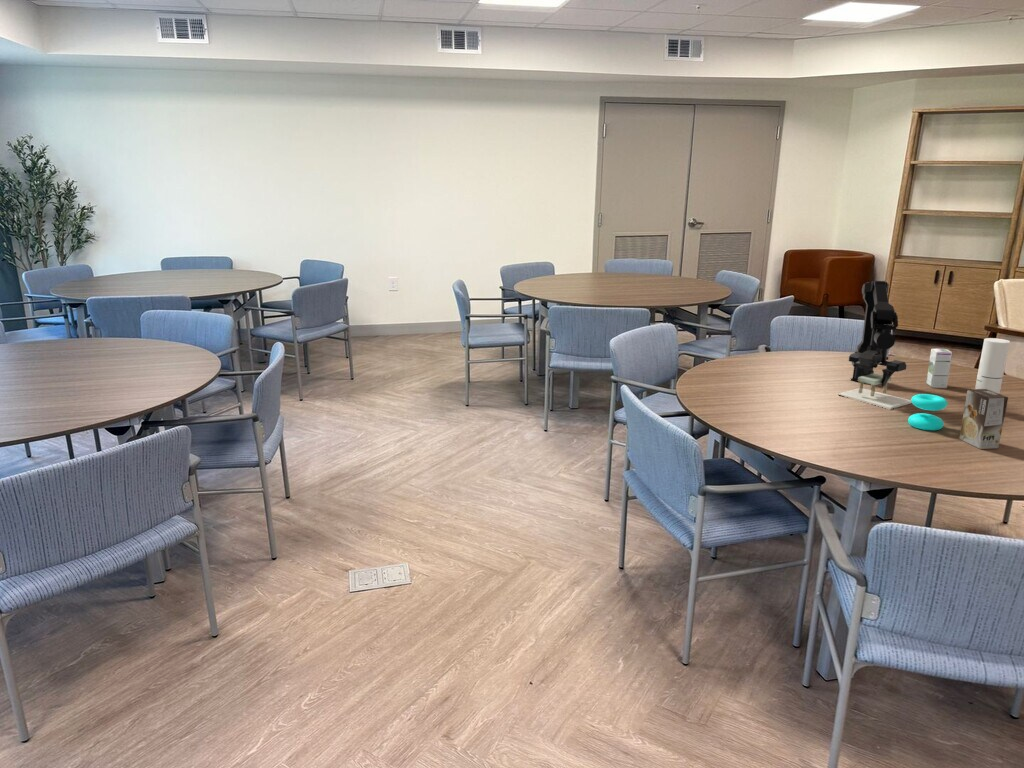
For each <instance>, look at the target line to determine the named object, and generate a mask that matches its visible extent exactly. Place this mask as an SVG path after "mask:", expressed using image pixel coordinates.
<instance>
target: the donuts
mask: <svg viewBox="0 0 1024 768" xmlns="http://www.w3.org/2000/svg"><path fill="white" fill-rule="evenodd" d="M910 400H911V401H912V403H911V404H912V405H913V406H915V407H916V408H917V409H921V410H926V411H942V410H944V409H946V407H948V400H946V398H945V397H943V396H939V395H937V394H929V393H918V394H915V395H913V396H912V397H911V399H910ZM907 422H908V424H909V425H910V426H911V427H913V428H916V429H919V430H924V431H939V430H941V429H942V428H943V427H944V425H945V423H944V421H943V419H942V418H940V417H939V416H936V415H934V414H930V413H923V412H922V413H921V412H920V413H913V414H912V415H910V416H909V417H908V418H907Z"/></svg>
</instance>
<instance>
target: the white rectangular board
mask: <svg viewBox="0 0 1024 768" xmlns="http://www.w3.org/2000/svg"><path fill="white" fill-rule="evenodd" d="M838 394H839V395H843V396H846V397H849V398H852V399H856V400H859V401H858V402H860V401H862V402H861V403H863V402H866V403H865V404H867V403H869V404H868V405H871V404H873V405H872V406H874V405H876V406H875V407H878V406H879V407H878V408H882V407H883V408H882V409H885V408H886V409H887V410H894V409H897V408H899V407H904V406H907V405H910V404H913V403H912V401H911V399H906V398H902V397H898V396H895V395H890V394H887V393H883V392H880V391H879V392H878V391H875V393H874V396H870V395H871V389H868V388H864V387H863V390H862V393H859V387H858V388H854V389H850V390H847V391H843V392H842V391H841V392H839V393H837V395H838ZM849 398H848V399H849ZM852 399H851V400H852ZM856 400H855V401H856ZM893 408H894V409H893Z"/></svg>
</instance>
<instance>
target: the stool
mask: <svg viewBox="0 0 1024 768" xmlns="http://www.w3.org/2000/svg"><path fill="white" fill-rule="evenodd" d="M882 378H883V374H879V373H875V372H874V373H873V374H869V375H865V376H861V377H858V381H859V382H858V383H859V386H858V388H859V393H862V390H863V388H864V384H867V385H870V390H871V395H870V396H874V393H875V392H876V391H875V390H876V387H877V385H881V384H882ZM891 381H892V376H891V377H890V378H889V380H888V381H887V383H886V384H885V386H884V387H882V393H883V394H887V391H888V383H889V382H891Z"/></svg>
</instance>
